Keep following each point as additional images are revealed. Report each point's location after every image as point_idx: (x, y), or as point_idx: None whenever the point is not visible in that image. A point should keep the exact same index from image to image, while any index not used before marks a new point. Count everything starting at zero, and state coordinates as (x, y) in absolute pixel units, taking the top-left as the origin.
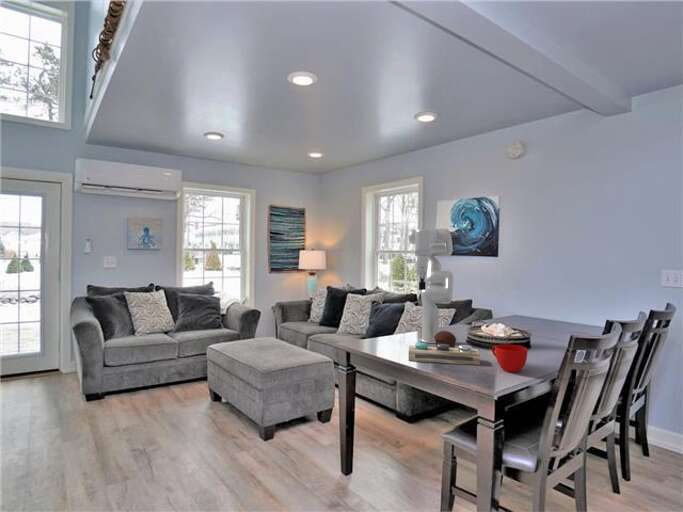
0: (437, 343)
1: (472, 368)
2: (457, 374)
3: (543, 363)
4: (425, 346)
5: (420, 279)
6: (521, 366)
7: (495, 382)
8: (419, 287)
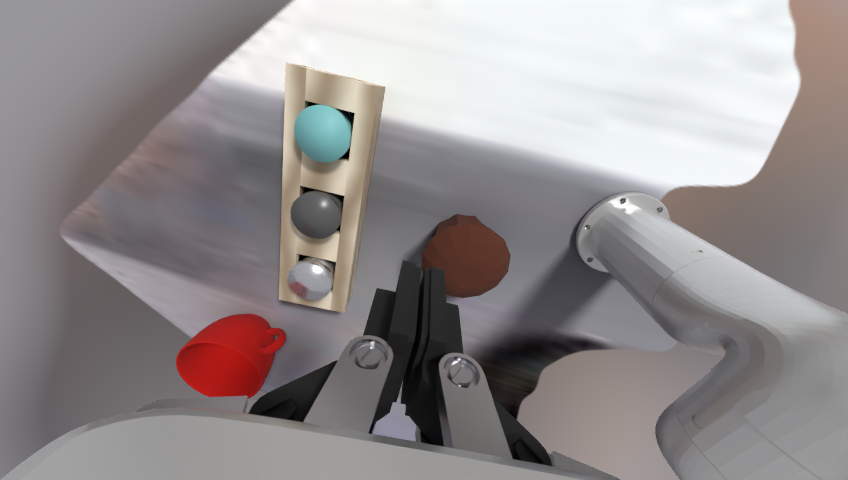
0: (451, 224)
1: (250, 252)
2: (174, 193)
3: None
4: (301, 145)
5: (329, 388)
6: (220, 349)
7: (134, 261)
8: (399, 280)
